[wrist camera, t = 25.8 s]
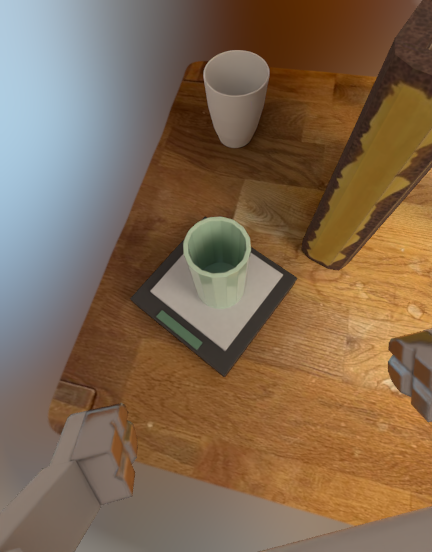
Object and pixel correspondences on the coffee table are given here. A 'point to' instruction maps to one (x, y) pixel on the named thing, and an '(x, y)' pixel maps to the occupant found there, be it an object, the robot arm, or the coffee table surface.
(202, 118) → the coffee table surface
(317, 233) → the book
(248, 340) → the scale
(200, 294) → the tumbler
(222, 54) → the cup
